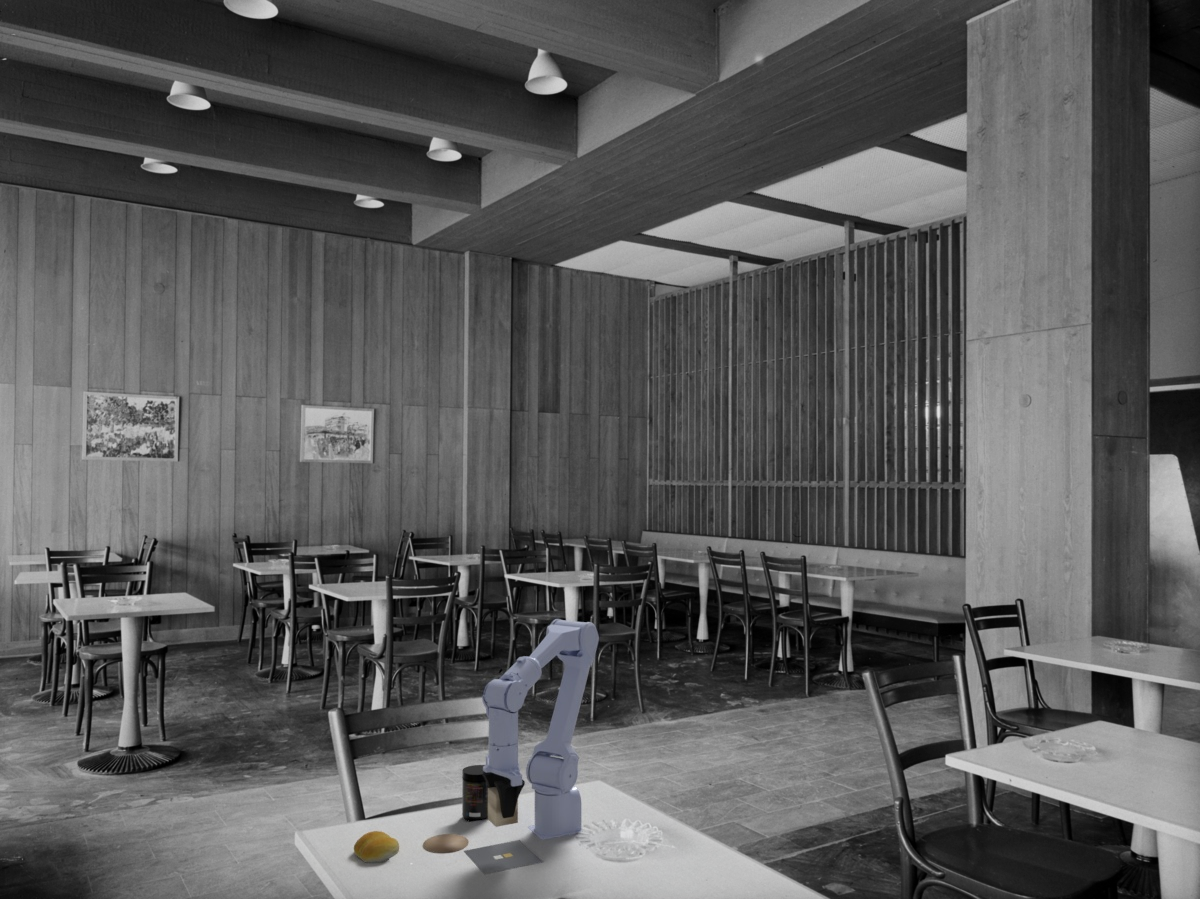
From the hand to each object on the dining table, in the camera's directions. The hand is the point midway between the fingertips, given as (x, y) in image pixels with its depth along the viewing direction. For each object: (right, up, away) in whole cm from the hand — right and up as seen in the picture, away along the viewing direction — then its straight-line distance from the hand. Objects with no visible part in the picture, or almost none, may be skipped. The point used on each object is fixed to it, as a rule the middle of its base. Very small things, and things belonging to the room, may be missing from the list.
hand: (503, 812), depth 178 cm
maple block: (0, -2, 0) cm, 2 cm away
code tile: (0, -9, 0) cm, 9 cm away
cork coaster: (-12, -9, +6) cm, 16 cm away
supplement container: (-8, -10, +21) cm, 25 cm away
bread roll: (-25, -10, +2) cm, 27 cm away
